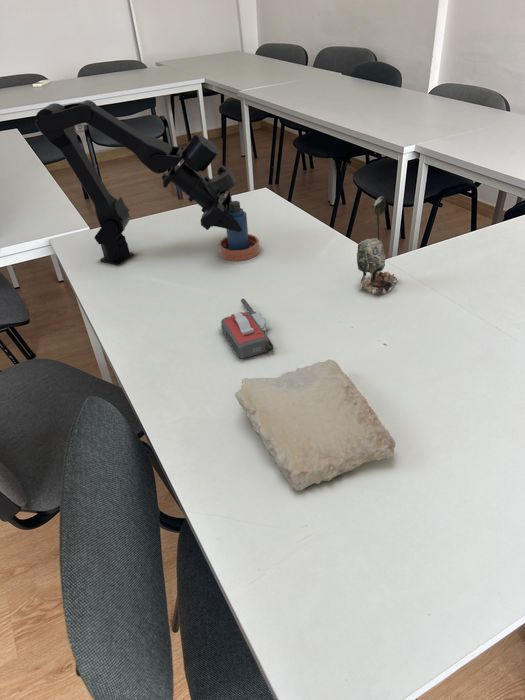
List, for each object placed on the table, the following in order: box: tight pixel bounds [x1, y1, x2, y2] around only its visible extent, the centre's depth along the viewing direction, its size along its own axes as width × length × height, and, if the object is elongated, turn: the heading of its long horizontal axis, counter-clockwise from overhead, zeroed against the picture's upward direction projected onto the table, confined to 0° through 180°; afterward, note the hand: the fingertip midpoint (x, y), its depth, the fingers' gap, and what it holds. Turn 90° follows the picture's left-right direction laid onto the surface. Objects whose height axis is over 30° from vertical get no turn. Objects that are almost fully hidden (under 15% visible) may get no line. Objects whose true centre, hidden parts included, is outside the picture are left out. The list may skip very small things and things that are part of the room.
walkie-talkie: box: [220, 298, 274, 359], centre depth 108 cm, size 9×4×20 cm
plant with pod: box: [356, 195, 399, 295], centre depth 114 cm, size 8×11×20 cm
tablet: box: [234, 359, 396, 491], centre depth 84 cm, size 24×8×20 cm
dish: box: [218, 233, 261, 262], centre depth 137 cm, size 10×10×3 cm
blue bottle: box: [225, 200, 249, 250], centre depth 134 cm, size 5×5×13 cm
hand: (242, 225), depth 133 cm, fingers closed on blue bottle, 5 cm apart
